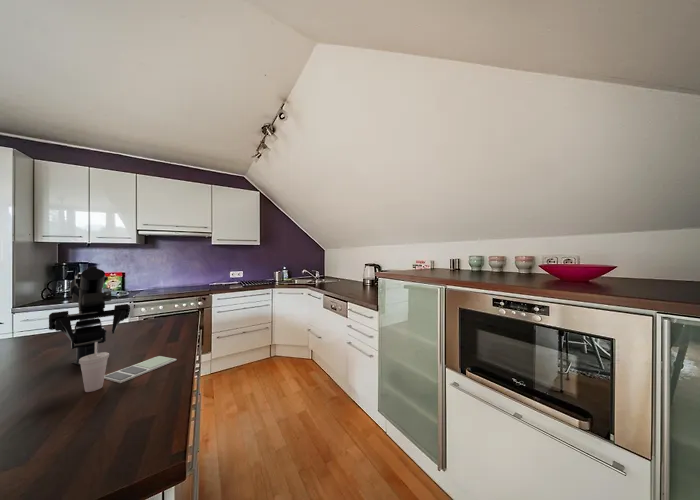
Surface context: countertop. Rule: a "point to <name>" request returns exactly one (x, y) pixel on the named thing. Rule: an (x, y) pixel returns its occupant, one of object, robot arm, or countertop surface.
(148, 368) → the board
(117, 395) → the countertop surface
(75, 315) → the robot arm
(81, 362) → the smoothie
